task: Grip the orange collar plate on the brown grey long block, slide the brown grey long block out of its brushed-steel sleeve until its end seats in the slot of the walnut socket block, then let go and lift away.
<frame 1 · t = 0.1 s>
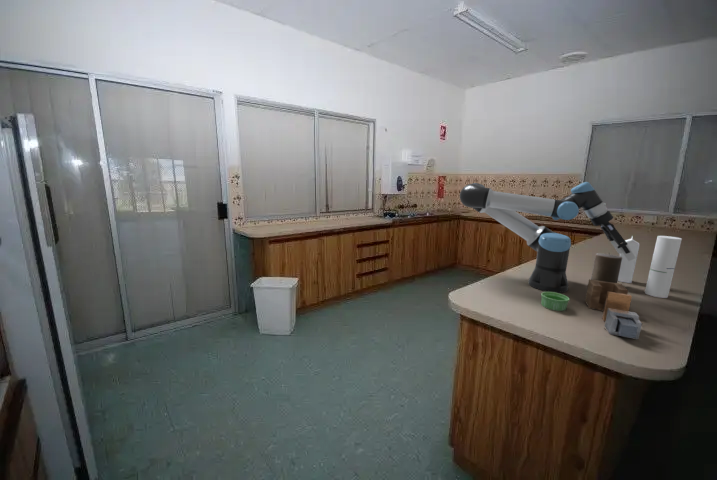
hand: (627, 256, 134), 15 cm above the countertop, tool tilted 35°, fingers open, 13 cm apart
pillar candle: (603, 284, 144), on the countertop
brown grey long block: (620, 312, 100), point 5 cm above the countertop, slide at 0.0 cm
cylindrical container: (655, 295, 131), on the countertop
socket: (605, 295, 116), on the countertop
ramekin: (553, 307, 116), on the countertop
milk: (623, 281, 149), on the countertop
sleeve: (617, 328, 100), on the countertop
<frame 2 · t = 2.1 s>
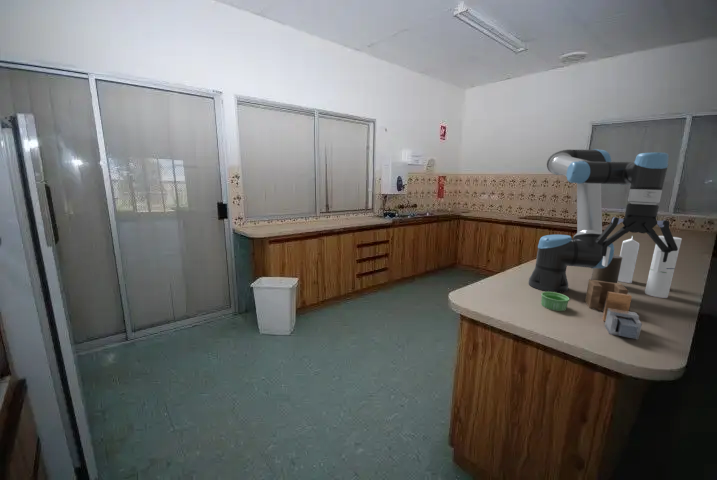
hand: (629, 268, 101), 19 cm above the countertop, tool pointing down, fingers open, 13 cm apart
nothing on the countertop moved.
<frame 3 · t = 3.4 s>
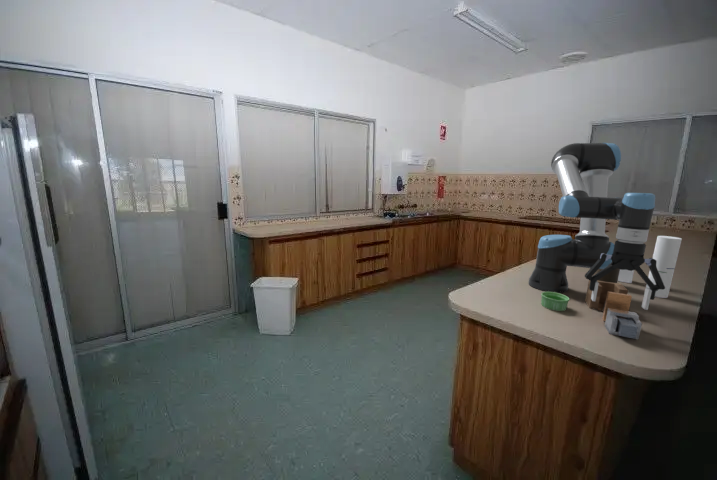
hand: (618, 304, 102), 7 cm above the countertop, tool pointing down, fingers open, 13 cm apart
nothing on the countertop moved.
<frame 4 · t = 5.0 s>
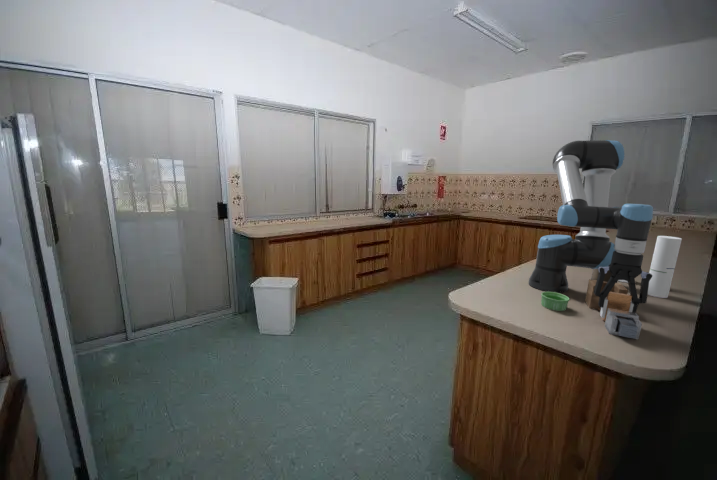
hand: (614, 318, 104), 1 cm above the countertop, tool pointing down, fingers closed on brown grey long block, 6 cm apart
brown grey long block: (620, 312, 100), point 5 cm above the countertop, slide at 0.0 cm, touching gripper
everything else where it was.
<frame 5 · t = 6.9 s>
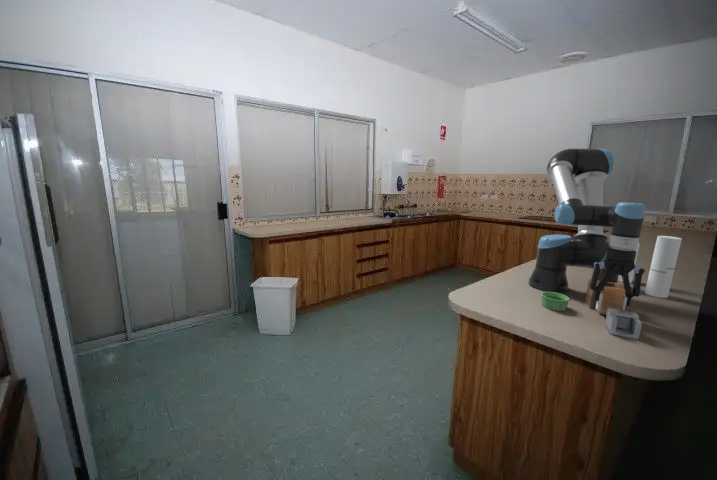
hand: (609, 311, 110), 1 cm above the countertop, tool pointing down, fingers closed on brown grey long block, 6 cm apart
brown grey long block: (614, 305, 105), point 5 cm above the countertop, slide at 6.5 cm, touching gripper
everything else where it was.
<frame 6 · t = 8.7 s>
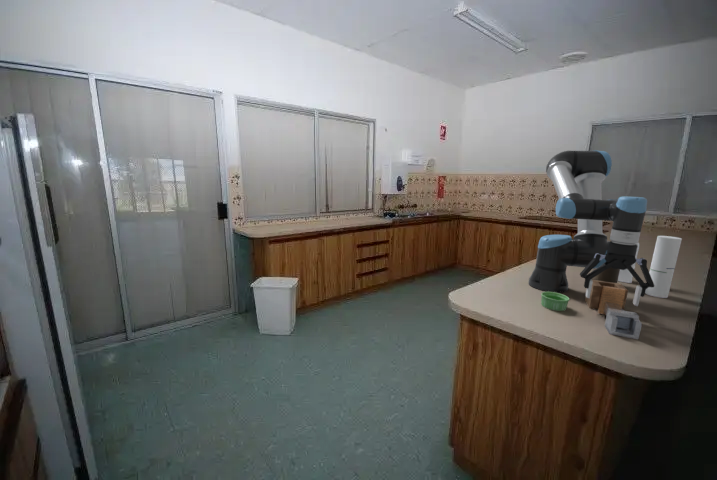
hand: (610, 300, 109), 5 cm above the countertop, tool pointing down, fingers open, 13 cm apart
brown grey long block: (614, 305, 105), point 5 cm above the countertop, slide at 6.5 cm
everything else where it was.
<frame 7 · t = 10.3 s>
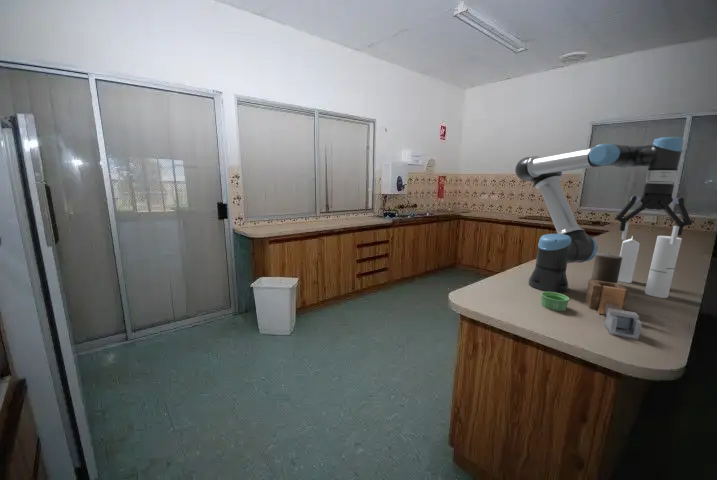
hand: (647, 241, 113), 25 cm above the countertop, tool pointing down, fingers open, 13 cm apart
nothing on the countertop moved.
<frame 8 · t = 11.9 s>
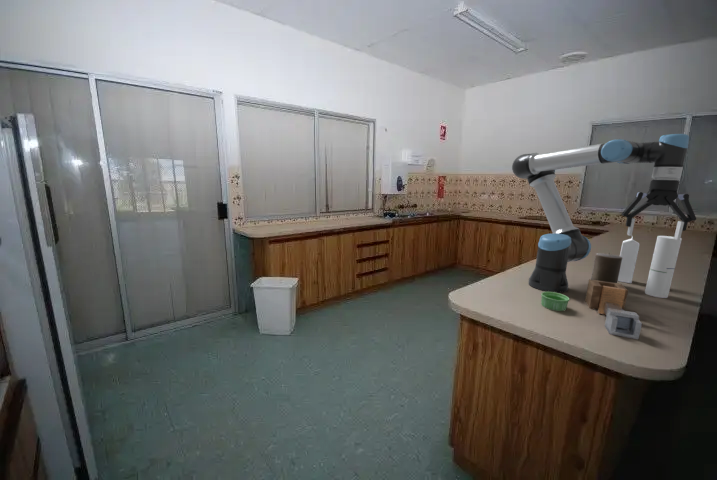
hand: (652, 237, 115), 27 cm above the countertop, tool pointing down, fingers open, 13 cm apart
nothing on the countertop moved.
at the end: brown grey long block slide at 6.5 cm; the gripper is holding nothing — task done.
